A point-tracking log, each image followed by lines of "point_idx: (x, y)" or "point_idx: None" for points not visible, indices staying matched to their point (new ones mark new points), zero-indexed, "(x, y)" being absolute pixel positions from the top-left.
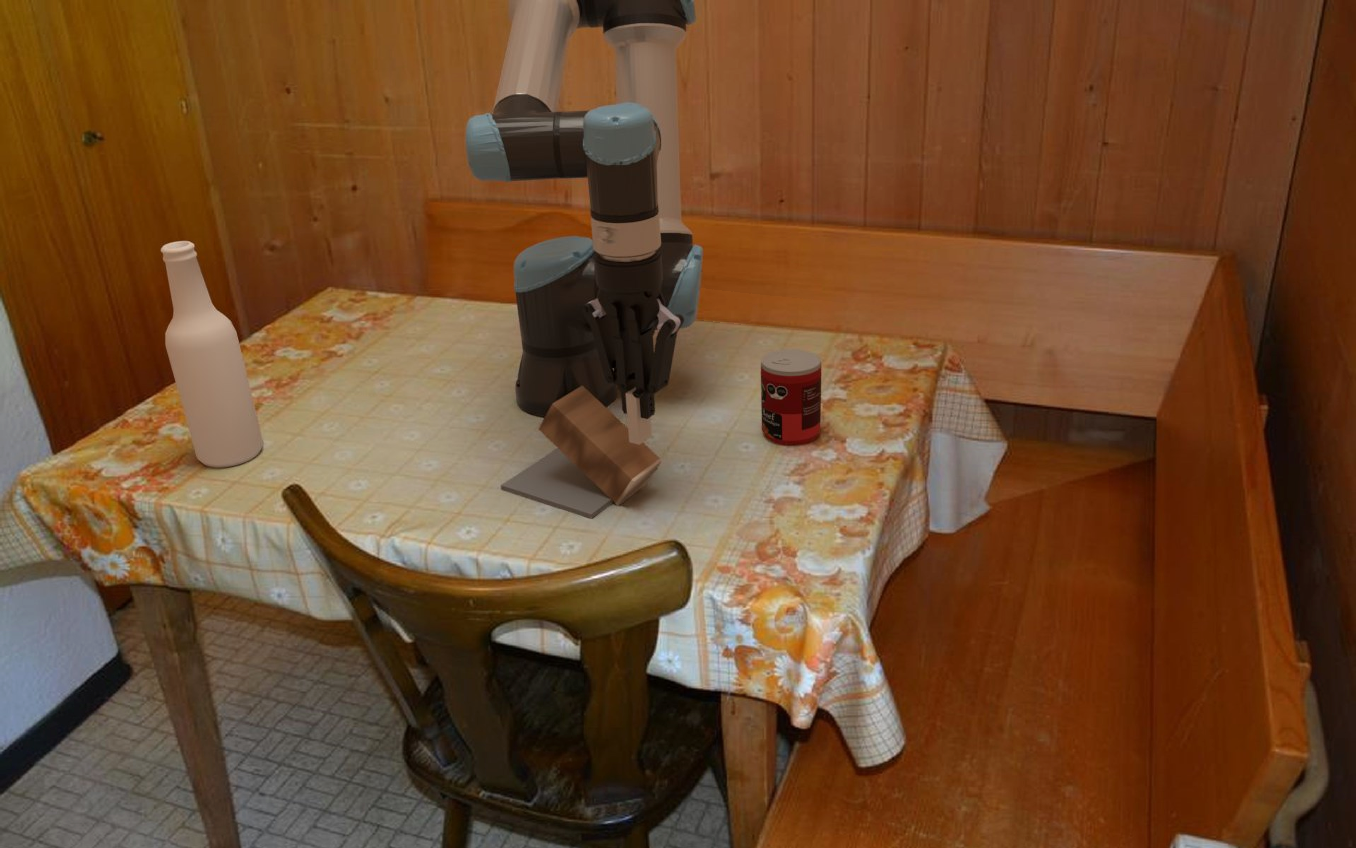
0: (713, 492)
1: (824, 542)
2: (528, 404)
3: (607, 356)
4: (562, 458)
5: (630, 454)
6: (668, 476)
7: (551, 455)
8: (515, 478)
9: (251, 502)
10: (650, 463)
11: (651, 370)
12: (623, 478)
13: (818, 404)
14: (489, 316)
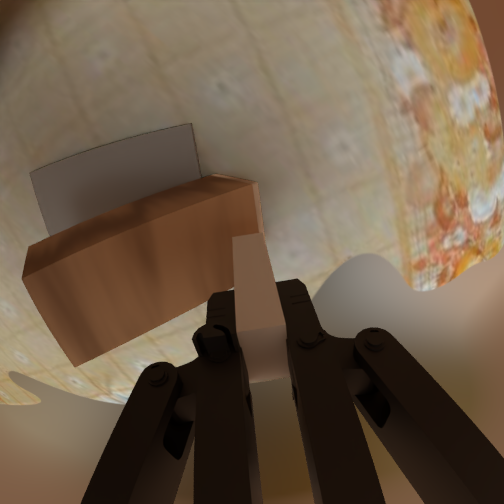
0: (326, 127)
1: (481, 165)
2: None
3: (175, 488)
4: (65, 216)
5: (223, 246)
6: (226, 129)
7: (49, 221)
8: None
9: (22, 393)
10: (254, 214)
11: (385, 445)
12: None
13: None
14: None
